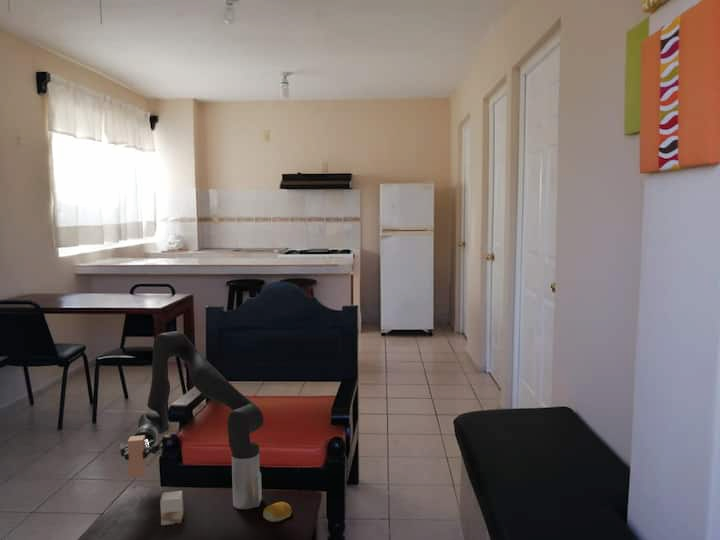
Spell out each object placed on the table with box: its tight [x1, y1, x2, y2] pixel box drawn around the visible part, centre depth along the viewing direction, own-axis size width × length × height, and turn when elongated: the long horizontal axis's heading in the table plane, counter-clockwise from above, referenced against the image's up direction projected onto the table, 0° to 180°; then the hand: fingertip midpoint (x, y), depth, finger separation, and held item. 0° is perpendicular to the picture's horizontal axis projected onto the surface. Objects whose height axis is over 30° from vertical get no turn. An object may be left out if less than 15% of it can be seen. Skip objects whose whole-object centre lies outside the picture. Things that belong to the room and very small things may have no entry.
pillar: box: [127, 435, 148, 479], centre depth 182 cm, size 4×4×12 cm
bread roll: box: [262, 501, 292, 523], centre depth 184 cm, size 8×9×4 cm
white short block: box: [159, 490, 184, 514], centre depth 182 cm, size 6×6×4 cm
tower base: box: [160, 502, 184, 526], centre depth 182 cm, size 6×6×4 cm
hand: (135, 456), depth 179 cm, fingers closed on pillar, 4 cm apart
